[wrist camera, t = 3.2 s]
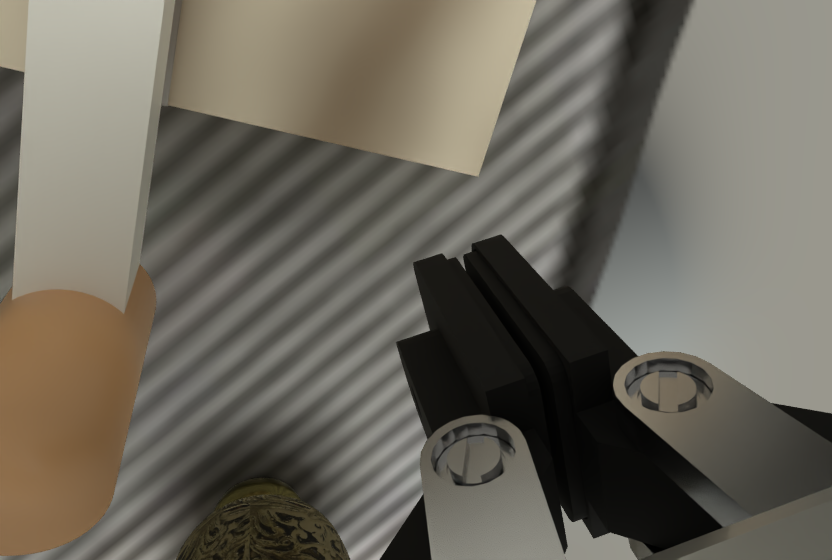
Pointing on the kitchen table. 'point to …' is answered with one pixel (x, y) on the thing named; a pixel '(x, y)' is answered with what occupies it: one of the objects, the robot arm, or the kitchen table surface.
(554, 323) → the robot arm
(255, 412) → the kitchen table surface
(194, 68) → the post board
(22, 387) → the crank handle
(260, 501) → the cup
